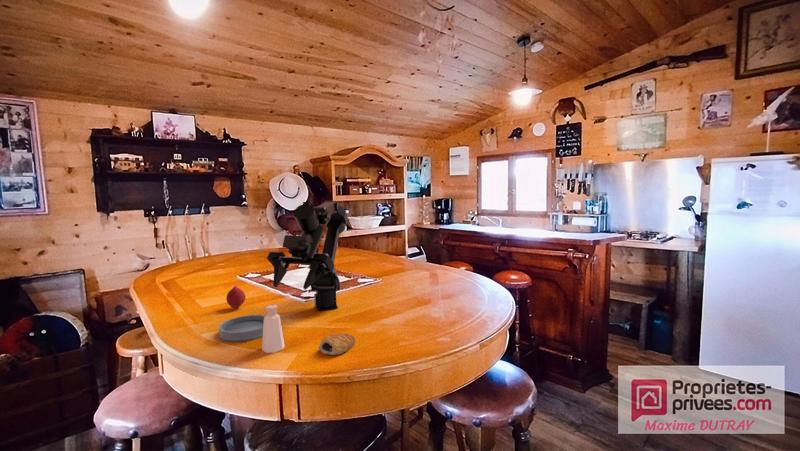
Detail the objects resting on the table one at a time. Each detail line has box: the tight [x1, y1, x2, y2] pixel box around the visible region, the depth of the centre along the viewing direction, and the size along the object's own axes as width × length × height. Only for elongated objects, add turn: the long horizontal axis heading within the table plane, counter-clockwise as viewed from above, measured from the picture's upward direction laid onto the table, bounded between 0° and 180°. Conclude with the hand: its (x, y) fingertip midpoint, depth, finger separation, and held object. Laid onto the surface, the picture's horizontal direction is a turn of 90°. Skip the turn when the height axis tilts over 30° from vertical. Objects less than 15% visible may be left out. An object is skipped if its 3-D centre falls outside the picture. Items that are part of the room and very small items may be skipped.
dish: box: [218, 314, 266, 343], centre depth 105 cm, size 14×14×2 cm
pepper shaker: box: [261, 304, 286, 354], centre depth 93 cm, size 5×5×11 cm
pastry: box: [318, 333, 356, 356], centre depth 93 cm, size 9×7×4 cm
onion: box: [225, 284, 246, 309], centre depth 126 cm, size 6×6×8 cm
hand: (289, 287), depth 100 cm, fingers open, 9 cm apart
